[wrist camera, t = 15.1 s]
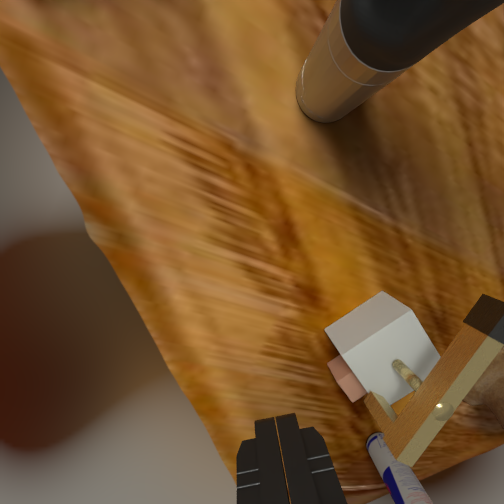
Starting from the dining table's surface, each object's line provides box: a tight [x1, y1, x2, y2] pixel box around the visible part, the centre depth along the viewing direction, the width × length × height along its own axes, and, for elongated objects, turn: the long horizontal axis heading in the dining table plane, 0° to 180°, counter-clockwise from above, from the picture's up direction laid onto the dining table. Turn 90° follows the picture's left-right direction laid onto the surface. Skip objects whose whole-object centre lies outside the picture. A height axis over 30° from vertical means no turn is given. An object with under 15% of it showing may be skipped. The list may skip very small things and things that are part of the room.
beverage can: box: [367, 432, 433, 504], centre depth 46 cm, size 5×5×15 cm
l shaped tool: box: [364, 294, 504, 467], centre depth 35 cm, size 22×3×9 cm, turn 151°
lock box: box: [324, 291, 441, 405], centre depth 45 cm, size 12×12×8 cm
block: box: [327, 354, 367, 403], centre depth 47 cm, size 5×5×3 cm
